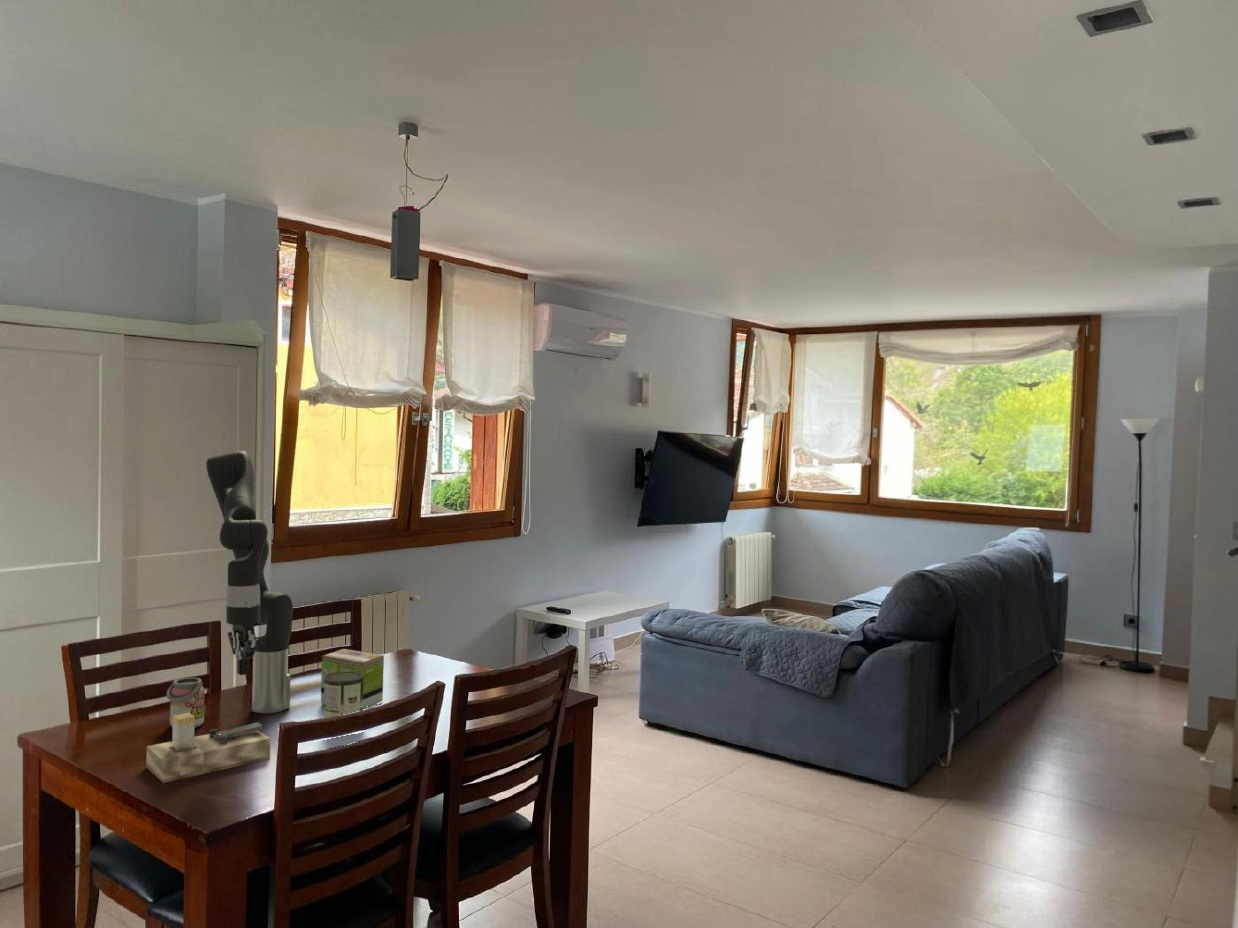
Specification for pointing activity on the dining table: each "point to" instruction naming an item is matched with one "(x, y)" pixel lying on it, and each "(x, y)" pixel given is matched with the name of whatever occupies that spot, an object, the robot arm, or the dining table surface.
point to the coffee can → (343, 693)
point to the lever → (238, 731)
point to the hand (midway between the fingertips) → (242, 673)
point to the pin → (183, 732)
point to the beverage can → (187, 699)
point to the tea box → (358, 663)
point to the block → (206, 755)
